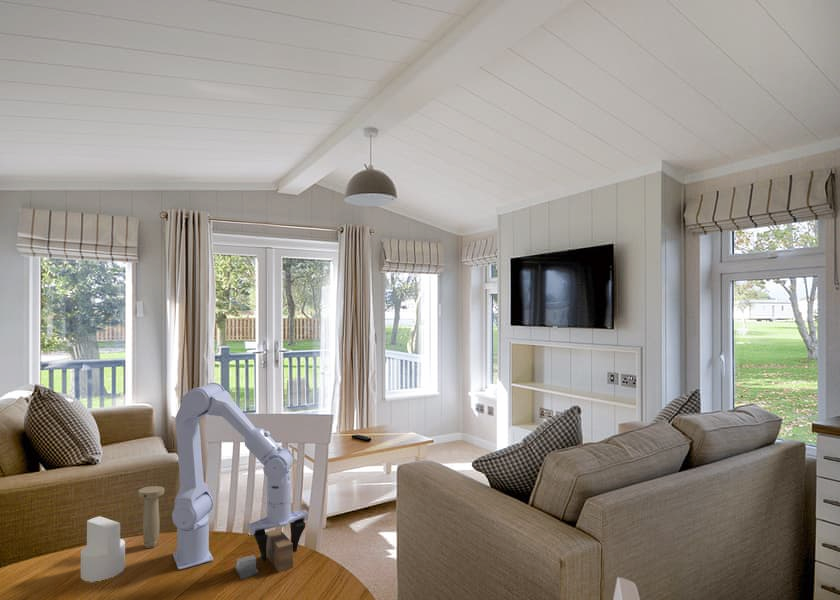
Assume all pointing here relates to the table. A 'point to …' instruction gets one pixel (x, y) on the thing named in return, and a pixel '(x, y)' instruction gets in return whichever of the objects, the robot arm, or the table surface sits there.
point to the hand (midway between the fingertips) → (279, 554)
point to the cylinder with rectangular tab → (102, 550)
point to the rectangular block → (279, 550)
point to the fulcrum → (246, 566)
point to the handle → (151, 514)
